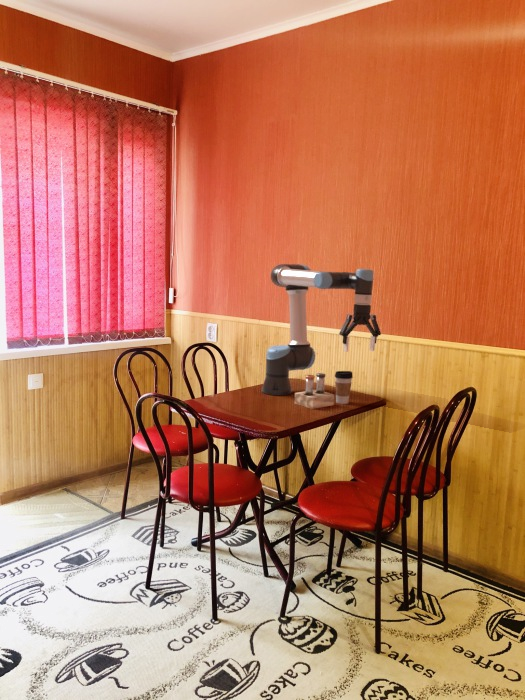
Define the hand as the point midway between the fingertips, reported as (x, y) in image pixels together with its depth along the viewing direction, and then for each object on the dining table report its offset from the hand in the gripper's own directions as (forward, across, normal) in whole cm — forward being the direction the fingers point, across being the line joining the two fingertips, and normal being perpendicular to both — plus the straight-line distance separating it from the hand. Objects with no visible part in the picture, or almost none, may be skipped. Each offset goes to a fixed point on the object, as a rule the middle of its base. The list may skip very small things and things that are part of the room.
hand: (358, 350), depth 258 cm
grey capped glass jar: (+22, -12, +13) cm, 28 cm away
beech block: (+27, -15, +12) cm, 33 cm away
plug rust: (+22, -19, +10) cm, 31 cm away
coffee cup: (+27, 0, +12) cm, 30 cm away
